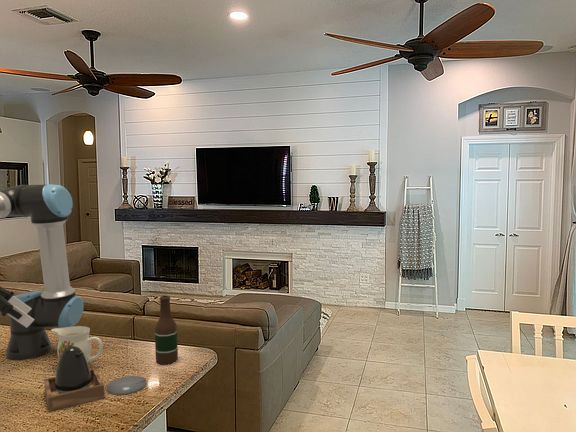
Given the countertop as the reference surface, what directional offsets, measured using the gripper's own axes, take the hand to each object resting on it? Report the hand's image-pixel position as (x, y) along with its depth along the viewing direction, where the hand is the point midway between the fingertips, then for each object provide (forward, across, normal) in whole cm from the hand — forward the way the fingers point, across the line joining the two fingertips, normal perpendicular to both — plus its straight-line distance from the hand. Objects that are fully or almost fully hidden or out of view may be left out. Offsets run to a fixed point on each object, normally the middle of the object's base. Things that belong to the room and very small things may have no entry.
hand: (29, 317), depth 132 cm
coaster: (+37, +3, 0) cm, 37 cm away
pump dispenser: (+26, 0, -11) cm, 28 cm away
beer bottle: (+49, -10, +12) cm, 51 cm away
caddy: (+26, 0, -11) cm, 28 cm away
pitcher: (+29, -22, -8) cm, 37 cm away
